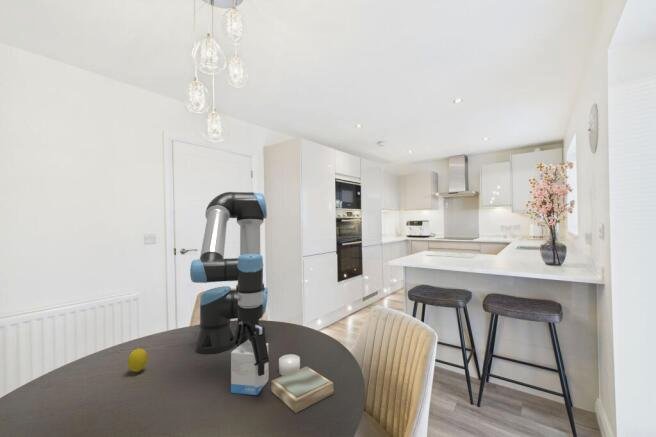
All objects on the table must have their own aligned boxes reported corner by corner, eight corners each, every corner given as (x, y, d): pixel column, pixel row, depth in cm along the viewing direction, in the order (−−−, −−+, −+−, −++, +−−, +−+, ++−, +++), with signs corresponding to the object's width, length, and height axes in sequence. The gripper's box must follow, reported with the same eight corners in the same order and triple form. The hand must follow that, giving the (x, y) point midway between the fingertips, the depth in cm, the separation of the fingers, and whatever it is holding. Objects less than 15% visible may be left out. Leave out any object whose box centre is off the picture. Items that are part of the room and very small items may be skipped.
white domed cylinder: (275, 370, 94) (275, 358, 95) (292, 363, 99) (292, 352, 99) (286, 378, 89) (286, 366, 89) (304, 371, 94) (303, 359, 94)
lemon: (150, 370, 95) (151, 346, 96) (133, 378, 90) (134, 353, 91) (140, 366, 98) (141, 343, 98) (123, 374, 93) (124, 350, 93)
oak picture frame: (271, 391, 82) (271, 379, 82) (306, 375, 91) (306, 365, 91) (295, 413, 72) (295, 400, 73) (333, 393, 81) (333, 382, 81)
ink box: (256, 396, 80) (256, 348, 80) (230, 393, 82) (230, 346, 82) (269, 380, 88) (269, 337, 89) (244, 377, 90) (244, 335, 91)
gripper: (224, 299, 92) (223, 366, 92) (256, 316, 74) (256, 400, 74) (245, 295, 97) (245, 359, 97) (281, 311, 79) (281, 389, 79)
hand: (250, 377), depth 85 cm, fingers closed on ink box, 11 cm apart
